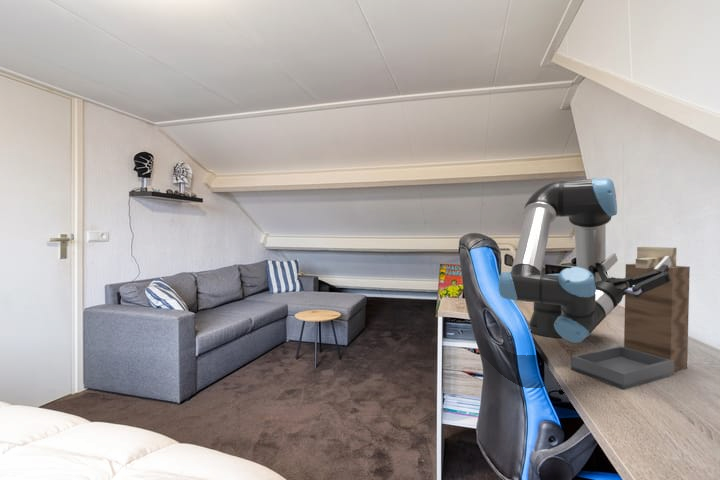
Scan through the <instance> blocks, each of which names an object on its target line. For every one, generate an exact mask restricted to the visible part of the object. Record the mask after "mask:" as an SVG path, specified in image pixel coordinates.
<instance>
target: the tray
mask: <svg viewBox="0 0 720 480" xmlns="http://www.w3.org/2000/svg"><path fill="white" fill-rule="evenodd" d="M570 357H571V358H570V370H571V371H574V372H577V373H578V374H582V375H584V376H587V377H590V378H592V379H595V380H598V381H600V382H602V383H606V384H608V385H611V386H612V387H616V388H619V389H621V390H623V391H624V390H628V389H630V388H634V387H637V386H641V385H643V384H648V383H650V382H654V381H657V380H662V379H664V378H667V377H670V376H673V375H675V374H674V373H675V372H674V361H673V360H670V359H666V358H662V357H659V356H655V355H652V354H648V353H644V352H641V351H637V350H634V349H630V348H626V347H624V345H616V346H611V347H607V348H603V349H598V350H593V351H588V352H584V353H579V354H578V353H577V354H574V355H570Z"/></svg>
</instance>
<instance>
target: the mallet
mask: <svg viewBox="0 0 720 480" xmlns="http://www.w3.org/2000/svg"><path fill="white" fill-rule="evenodd" d="M665 256H669V257H670V261H671V264H672V265H671V266H670V267H675V266H677V247H664V246H663V247H661V246H660V247H659V246H637V248H636V258H635V264H636V268H646V269H647V268H653V267H656V266H657V265H658V264H659V263H660V262H661V261H662V259H663V258H664V257H665Z"/></svg>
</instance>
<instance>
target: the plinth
mask: <svg viewBox="0 0 720 480" xmlns="http://www.w3.org/2000/svg"><path fill="white" fill-rule="evenodd" d="M654 268H655V267H653V268H647V269H646V268H636V263H626V264H625V276H624V278H626V277H631V278H632V277H635V276H639V275H642V274H645V273H649V272H652V271H654ZM690 270H691V269H690V266H687V265H685V266H684V265H676V266H675V267H669V271H668V273H669V276H670V280H671V281H670V282H668V283H665V284H663V285H661V286H659V287H656V288H654V289H652V290H649V291H647V292H645V293H643V294H642V295H641V296H639V297H635V296H634V294H631V293H628V294H625V295H624V327H623V328H624V331H623V332H624V338H623V341H624V342H623V347H626V348H630V349H634V350H637V351H641V352H644V353H648V354H652V355H655V356H659V357H662V358H666V359H670V360H673V361H674V373H675V372H679V371H683V370H686V369H688V355H689V354H688V352H689V349H688V348H689V346H688V345H689V313H690V312H689V311H690V310H689V309H690V308H689V306H690V304H689V303H690V272H691V271H690ZM626 283H627V285H628V287H629V286H630V285H629V282H628V281H627V282H626Z"/></svg>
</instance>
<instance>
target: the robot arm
mask: <svg viewBox="0 0 720 480" xmlns="http://www.w3.org/2000/svg"><path fill="white" fill-rule="evenodd" d="M617 214H618V203H617V195H616V188H615V184H614V181H613V180H612V179H611V178H608V177H604V178H603V177H601V178H597V177H593V178H587V179H585V178H584V179H571V180H556V181H552V182H549V183H547V184H544V185H543V186H541V187H540V188H539V189H537V190H536V191H535V192H534V193H532V195H531V196H530V197H529V198H528V199H527V202H526V203H525V205H524V207H523V213H522V215H523V218H524V220H523V221H524V222H523V225H522V229H521V233H520V236H519V239H518V243H517V247H516V252H515V255H514V259H513V262H512V266H511V271H503V272H502V273H501V274H500V275H499V279H498V292H499V295H500V297H502V298H503V299H506V300H513V301H516V302H518V301H520V302H530V303H533V312H532V315H531V318H530V320H529V323H528V327H529V326H530V329H531V331H532V332H531V333H532V334H535V335H539V336H543V337H550V338H562V339H563V340H566V341H568V342H570V343H573V344H578V343H581V342H583V341H584V340H585V339H586V338H588V337H589V336H590V335H591V333H592V332H593V331H594V330H596V328H597V327H598V326H599V325H600V324H601V323H602V322H603V320H605V319H606V317H607V316H608V315H609V314H610V313H611V312H612V311H613V309H615V308H616V307H617V306H618V305H619V304H620V303H621V302H622V300H623V297H625V294H628V293H631V294H634V296H635V297H639V296H641V295H642V294H643V293H645V292H647V291H649V290H652V289H654V288H656V287H659V286H661V285H663V284H665V283H668V282H670V281H671V280H670V276H669V273H668V271H669V267H670V266H671V265H672V264H671V261H670V257H669V256H665V257H664V258H663V259H662V261H661V262H660V263H659V264H658V265H657V266H656V267H655V268H654V271H652V272H649V273H645V274H642V275H639V276H635V277H632V278H631V277H626V278H625V277H624V278H623V277H621V278H620V277H618V278H617V277H615V276H614V277H612V276H611V277H610V276H609V275H608V274H607V272H608V271H609V270H610V269H611V268H612V267H613V266H614V265H615V264H616V263H617V262H618V261H619V260H618V257H617V255H616V253H615V252H612V253H611V254H610V255H609V256H608V257H607V258H606V254H607V253H606V251H607V250H606V247H607V246H606V244H607V243H606V239H607V238H606V231H607V230H606V225H607V224H609V223H610V221H611V220H612V217H614V216H616V215H617ZM557 217H560V218H561V217H566V218H567V217H568V222H569V223H570V224H571V225H572V226H574V243H575V259H576V260H575V261H576V262H575V263H576V266H571V267H567V268H563V269H562V270H561V271H560V272H559V273H548V274H542V270H543V265H544V261H545V255H546V250H547V246H548V239H549V235H550V230H551V224H552V223H553V222H554V221H555V219H556V218H557ZM627 281H628V282H629V285H630V286H629V287H628V285H627V283H626V282H627Z"/></svg>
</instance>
